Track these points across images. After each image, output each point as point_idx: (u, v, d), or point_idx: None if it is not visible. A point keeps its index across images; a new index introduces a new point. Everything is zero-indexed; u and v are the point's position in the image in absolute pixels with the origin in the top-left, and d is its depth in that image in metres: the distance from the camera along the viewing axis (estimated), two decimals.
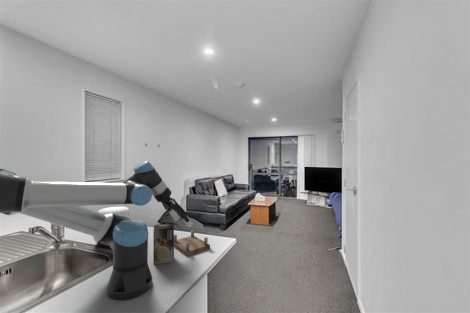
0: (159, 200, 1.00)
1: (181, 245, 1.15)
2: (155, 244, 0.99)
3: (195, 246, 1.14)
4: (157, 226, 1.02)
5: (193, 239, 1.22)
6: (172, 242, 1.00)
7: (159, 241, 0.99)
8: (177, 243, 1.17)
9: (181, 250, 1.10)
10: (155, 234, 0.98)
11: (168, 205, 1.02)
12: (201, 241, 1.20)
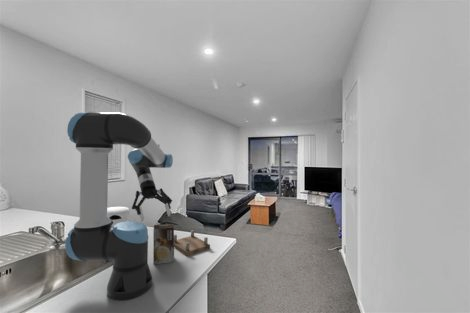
0: (152, 183, 1.19)
1: (181, 245, 1.15)
2: (155, 244, 0.99)
3: (195, 246, 1.14)
4: (157, 226, 1.02)
5: (193, 239, 1.22)
6: (172, 242, 1.00)
7: (159, 241, 0.99)
8: (177, 243, 1.17)
9: (181, 250, 1.10)
10: (155, 234, 0.98)
11: (155, 192, 1.18)
12: (201, 241, 1.20)
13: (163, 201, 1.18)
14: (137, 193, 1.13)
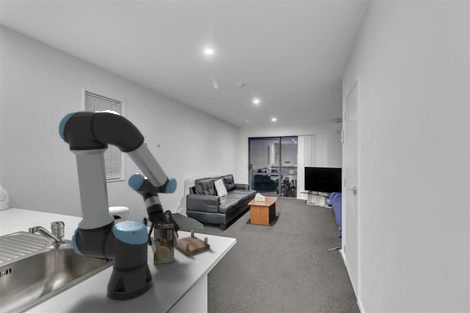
0: (160, 207, 1.10)
1: (181, 245, 1.15)
2: (155, 244, 0.99)
3: (195, 246, 1.14)
4: (157, 226, 1.02)
5: (193, 239, 1.22)
6: (172, 242, 1.00)
7: (159, 241, 0.99)
8: None
9: (181, 250, 1.10)
10: (155, 234, 0.99)
11: (164, 217, 1.09)
12: (201, 241, 1.20)
13: None
14: (145, 220, 1.03)
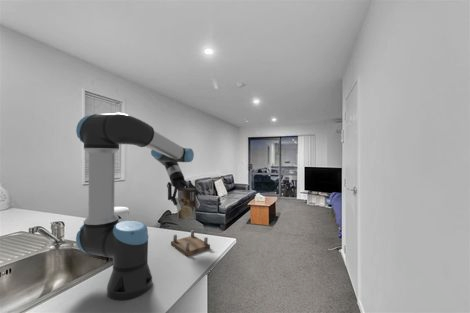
0: (182, 174, 1.23)
1: (181, 245, 1.15)
2: None
3: (195, 246, 1.14)
4: (180, 189, 1.15)
5: (193, 239, 1.22)
6: (194, 202, 1.14)
7: (183, 201, 1.12)
8: (177, 243, 1.17)
9: (181, 250, 1.10)
10: (179, 195, 1.12)
11: (185, 183, 1.22)
12: (201, 241, 1.20)
13: None
14: (169, 184, 1.16)
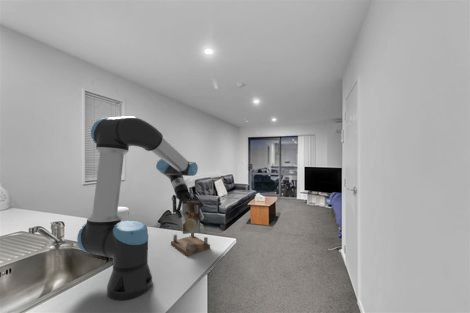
0: (186, 187, 1.25)
1: (181, 245, 1.15)
2: (184, 216, 1.14)
3: (195, 246, 1.14)
4: (185, 202, 1.18)
5: (193, 239, 1.22)
6: (198, 215, 1.16)
7: (188, 214, 1.15)
8: (177, 243, 1.17)
9: (181, 250, 1.10)
10: (184, 208, 1.14)
11: (189, 195, 1.24)
12: (201, 241, 1.20)
13: None
14: (174, 197, 1.19)
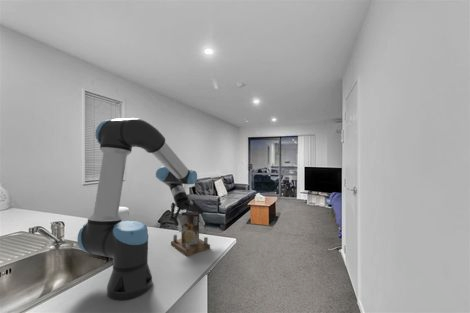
0: (186, 195, 1.25)
1: (181, 245, 1.15)
2: (183, 228, 1.14)
3: (195, 246, 1.14)
4: (184, 213, 1.17)
5: None
6: (197, 227, 1.16)
7: (187, 226, 1.14)
8: (177, 243, 1.17)
9: (181, 250, 1.10)
10: (183, 220, 1.14)
11: (189, 203, 1.24)
12: (201, 241, 1.20)
13: None
14: (173, 205, 1.19)
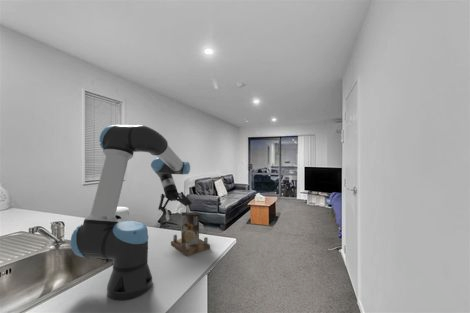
0: (175, 187, 1.35)
1: (181, 245, 1.15)
2: (183, 228, 1.14)
3: (195, 246, 1.14)
4: (184, 213, 1.17)
5: None
6: (197, 227, 1.16)
7: (187, 226, 1.14)
8: (177, 243, 1.17)
9: (181, 250, 1.10)
10: (183, 220, 1.14)
11: (177, 195, 1.34)
12: (201, 241, 1.20)
13: (184, 203, 1.34)
14: (162, 196, 1.28)
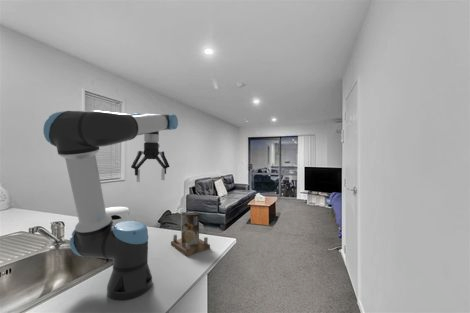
0: (156, 147, 1.19)
1: (181, 245, 1.15)
2: (183, 228, 1.14)
3: (195, 246, 1.14)
4: (184, 213, 1.17)
5: None
6: (197, 227, 1.16)
7: (187, 226, 1.14)
8: (177, 243, 1.17)
9: (181, 250, 1.10)
10: (183, 220, 1.14)
11: (157, 155, 1.21)
12: (201, 241, 1.20)
13: (161, 165, 1.24)
14: (139, 154, 1.15)
